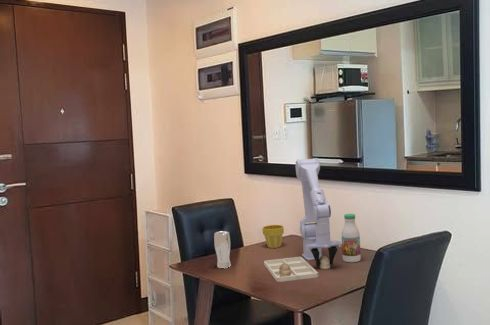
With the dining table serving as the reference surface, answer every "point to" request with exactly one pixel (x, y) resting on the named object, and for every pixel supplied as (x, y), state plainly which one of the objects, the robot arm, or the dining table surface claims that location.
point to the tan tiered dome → (284, 270)
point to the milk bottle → (350, 240)
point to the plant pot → (273, 235)
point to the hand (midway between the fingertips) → (324, 265)
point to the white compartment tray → (297, 266)
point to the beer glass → (222, 248)
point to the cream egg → (324, 262)
